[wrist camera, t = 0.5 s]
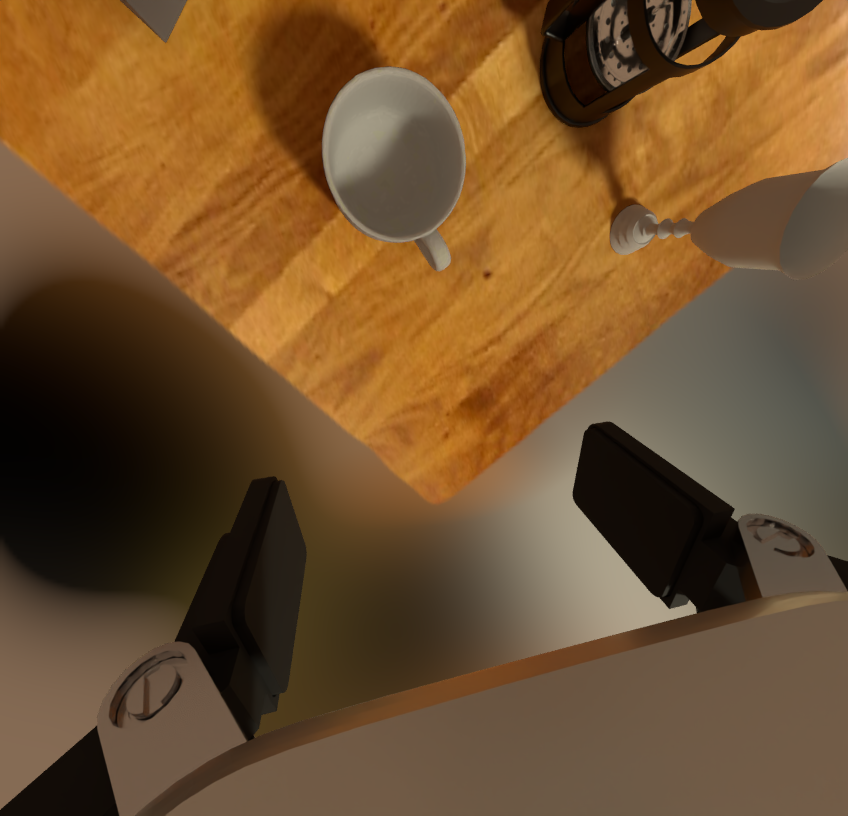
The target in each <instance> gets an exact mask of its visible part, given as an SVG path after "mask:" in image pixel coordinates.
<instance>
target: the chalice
mask: <svg viewBox="0 0 848 816" xmlns="http://www.w3.org/2000/svg"><path fill="white" fill-rule="evenodd" d="M689 233H691V240H692V242H693V243H694V244H695V245H696V246H697V247H699V248H700V249H701V250H702V251H703V252H705V253H706V254H707V255H708V256H710V257H712V258H713V259H715V260H717V261H719V262H721V263H723V264H725V265H727V266H729V267H736V268H752V269H768V270H780V271H781V272H782V273H784V274H786V275H787V276H788V277H790V278H792V279H794V280H797V279H799V280H800V279H808V278H810V277H812V276H815V275H817V274H820V273H821V272H823V271H824V270H825V269H827V268H828V267H829V266H831V265H832V264H834V263H835V262H836V261H837V260H838V259H839V258H840V257H841V256H842V255H843V254H844V253H845V252H846V251H847V250H848V158H846V159H844V160H841V161H839V162H837V163H835V164H833V165H831V166H830V167H828V168H826V169H824V170H819V171H812V172H806V173H799V174H793V175H786V176H780V177H773V178H767V179H764V180H761V181H758V182H756V183H754V184H751V185H749V186H747V187H745V188H743V189H741V190H739V191H737V192H735V193H732V194H730V195H729V196H727V197H726V198H724V199H722V200H721V201H719V202H718V203H716V204H714V205H713V206H711V207H710V208H708V209H706V210H705V211H703V212H702V213H701V214H700V215H699V216H698V217H697V218H696V220H695V222H691V221H688V220H687V219H686V218H683V219H681V220H680V221H678V222H677V223H673V222H672V220H671V219H665V220H664V221H662V222H661V223H660V224H658V222H657V218H656V216H655V214H654V213H653V212H651V211H650V210H648V209H646V208H645V207H643V206H641V205H631V206H628V207H626V208H625V209H624V210H622V211H621V212H620V213H619V215H618V216H617V217H616V219H615V221H614V223H613V225H612V228H611V232H610V242H611V246H612V248H613V249H614V250H615V252H617V253H619V254H622V255H627V254H630V253H633V252H634V251H635V250H638V249H640V248H642V247H644V246H645V245H647V244H648V243H649V242H650V241H651V240H652V239H653V237H654V236H655V234H656V235H658V237H659V238H660V239H664V238H666V237H668V236H669V235H670V234H673V235H675V237H677V238H680V237H682V236H683V235H685V234H689Z"/></svg>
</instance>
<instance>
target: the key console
mask: <svg viewBox="0 0 848 816" xmlns="http://www.w3.org/2000/svg"><path fill="white" fill-rule="evenodd" d="M120 1H121V2H122V3H123V4H125V5H126V6H127V7H128V8H129V9H130V10H131V11H132V12H133V13H134V14H135V15H136V16H137V17H138V18H140V19H141V20H142V21H143V22H144V23H145V24H146V25H147V26H148V27H149V28H150V29H151V30H152V31H153V32H154V33H156V34H157V35H158V36H159V37H160V38H161V39H162V40H163V41H164V42H165V43H166V42H167V40H168V38H169V36H170V34H171V32H172V30H173V28H174V26H175V24H176V22H177V20H178V18H179V16H180V14H181V12H182V10H183V7H184V5H185V3H186V1H187V0H120Z"/></svg>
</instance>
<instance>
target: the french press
mask: <svg viewBox="0 0 848 816" xmlns="http://www.w3.org/2000/svg"><path fill="white" fill-rule="evenodd" d="M691 1H692V0H549V2H548V4H547V7H546V11H545V15H544V20H543V24H542V29H541V34H542V35H543V36H545V40H544V43H543V47H542V53H541V59H540V79H541V87H542V91H543V95H544V98H545V101H546V103H547V105H548V107H549V109H550V110H551V112H552V113H553V114H554V116H555V117H556V118H557V119H559V120H560V121H561V122H562V123H564V124H566V125H568V126H572V127H578V128H580V127H588V126H590V125H593V124H596V123H598V122H599V121H601V120H602V119H604V118H605V117H607V116H608V115H609V114H610V113H612V112H614V111H616V110H618V109H620V108H621V107H623V106H624V105H626V104H627V103H628V102H629V101H630V100H631V99H633V98H634V97H635V96H636V95H638V94H641V93H643V92H645V91H647V90H649V89H650V88H652V87H653V86H655V85H657V84H659V83H661V82H663V81H664V80H666V79H668V78H672V77H681V76H684V75H687V74H689V73H692V72H694V71H696V70H698V69H700V68H702V67H704V66H706V65H708V64H710V63H712V62H713V61H715V60H716V59H718V58H719V57H721V56H722V55H724V54H725V53H726V52H727V51H728V50H729V49H730V48H731V47H732V46H733V45H734V44H735V43H736V42H737V40H738V39H739V38H740V37H741V36H744V35H747V34H750V33H752V32H755V31H757V30H773V29H777V28H780V27H783V26H785V25H788V24H790V23H792V22H794V21H796V20H798V19H799V18H801V17H803V16H804V15H806V14H807V13H809V12H810V11H812V10H813V9H814V8H815V7H816V6H817V5H818V4H819V3H820V2H822V1H823V0H695V1H696V4H697V7H698V9H699V11H700V13H701V16H702V19H700V20H699V21H697V22H696V23H694V24H692V25H691V26H689V27H688V25H689V19H690V14H691ZM586 20H587V25H586V46H587V54H588V59H589V64H590V67H591V69H592V72H593V74H594V76H595V78H596V80H597V81H598V83H599V84H600V85H601V87H602V88H603V89H604V90H605V91H607V93H605V94H604V95H602V96H600V97H599V98H597V99H595V100H593V101H592V102H590V103H588V104H587V105H584V104H583V103H582V102H581V101H579V100H578V98H577V97H576V95H575V94H574V93H573V91H572V89H571V86H570V84H569V82H568V78H567V74H566V70H565V61H564V46H565V40H566V39H567V38H568V37H569V36H570V35H571V34H572V33H573V32H574V31H575V30H576V29H577V28H579V27H580V26H581V25H582V24H583V23H584V22H585V21H586ZM720 34H721V35H725V36H726V37H725V39H724V40H723V42H722V43H721V44H720V45H719V47H718V48H717V49H716V50H715V52H714V53H712V54H711V55H710V56H709V57H708V58H707V59H706V60H705V61H704V62H703V63H701V64H698V65H683V64H679V63H676V62H674V61H675V60H676V59H678V58H679V57H681V56H683V55H685V54H686V53H688V52H690V51H692V50H693V49H695V48H697V47H699V46H701V45H702V44H704V43H706V42H708V41H709V40H711V39H713V38H715V37H717V36H718V35H720Z"/></svg>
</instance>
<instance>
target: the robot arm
mask: <svg viewBox="0 0 848 816" xmlns="http://www.w3.org/2000/svg"><path fill="white" fill-rule="evenodd" d="M573 499H574V501H575V503H576V505H577V506H578V507H579V508H580V510H581V511H582V512H583V513H584V514H585V515H586V517H587V518H588V519H589V520H590V521H591V523H592V524H593V525H594V526H595V527H596V528H597V530H598V531H599V532H600V533H601V534H602V536H603V537H604V538H605V539H606V540H607V541H608V543H609V544H610V545H611V546H612V547H613V549H614V550H615V551H616V552H617V553H618V554H619V556H620V557H621V558H622V559H623V560H624V562H625V563H626V564H627V565H628V566H629V567H630V569H631V570H632V571H633V572H634V573H635V575H636V576H637V577H638V578H639V579H640V580H641V582H642V583H643V584H644V585H645V586H646V587H647V589H648V590H649V591H650V592H651V593H652V594H653V595H654V596H656V597H660V599H661V600H662V601H663V602H664V603H665V604H666V606H667V607H668V608H669V609H671V608H674V607H679V606H682V605H686V604H687V603H688V601H689V600H690V601H691V602H692V603H693V604H694V605H695V606H696V611H697V614H693V615H689V616H685V617H681V618H677V619H674V620H670V621H666V622H662V623H658V624H655V625H650V626H647V627H643V628H639V629H635V630H631V631H627V632H623V633H620V634H616V635H612V636H608V637H605V638H601V639H597V640H593V641H589V642H585V643H582V644H578V645H574V646H570V647H566V648H563V649H559V650H555V651H552V652H548V653H544V654H540V655H536V656H533V657H529V658H525V659H521V660H518V661H514V662H510V663H506V664H503V665H499V666H495V667H492V668H488V669H484V670H480V671H477V672H473V673H469V674H466V675H462V676H458V677H455V678H451V679H447V680H444V681H440V682H436V683H432V684H429V685H425V686H422V687H418V688H414V689H411V690H407V691H403V692H400V693H396V694H392V695H388V696H385V697H381V698H378V699H375V700H371V701H367V702H364V703H361V704H357V705H354V706H350V707H347V708H343V709H341V710H337V711H333V712H330V713H326V714H323V715H320V716H316V717H313V718H309V719H306V720H303V721H300V722H297V723H294V724H291V725H289V726H286V727H283V728H280V729H277V730H274V731H271V732H269V733H266V734H263V735H261V736H258V737H256V738H255V737H254V734H255V732H256V731H257V730H258V729H259V725H260V720H261V715H263V714H267V713H271V712H275V711H277V705H278V700H279V694H280V693H284V692H285V691H286V690H287V687H288V682H289V675H290V668H291V661H292V654H293V647H294V640H295V633H296V626H297V619H298V612H299V606H300V599H301V592H302V585H303V578H304V570H305V563H306V546H305V542H304V539H303V537H302V533H301V530H300V527H299V524H298V521H297V519H296V515H295V512H294V509H293V506H292V503H291V500H290V497H289V494H288V491H287V488H286V485H285V482H284V481H282V480H280V481H278V480H277V478H276V477H274V476H273V477H267V478H261V479H254V480H252V482H251V484H250V486H249V489H248V491H247V494H246V496H245V498H244V501H243V503H242V506H241V508H240V510H239V513H238V515H237V517H236V520H235V522H234V525H233V527H232V529H231V532H230V533H226V534H224V535H223V536H222V537H221V539H220V540H219V542H218V544H217V546H216V549H215V551H214V553H213V556H212V558H211V560H210V562H209V565H208V567H207V569H206V571H205V574H204V576H203V578H202V580H201V583H200V585H199V587H198V590H197V592H196V594H195V596H194V599H193V601H192V603H191V605H190V608H189V610H188V612H187V614H186V617H185V619H184V621H183V624H182V626H181V628H180V630H179V633H178V635H177V637H176V639H175V642H172V643H166V644H164V645H162V646H159V647H157V648H154V649H152V650H151V651H149V652H148V653H146V654H144V655H143V656H141V657H140V658H138V659H137V660H136V661H135V662H134V663H132V664H131V665H130V666H129V667H128V668H127V669H126V670H125V671H124V672H123V673H122V674H121V675H120V676H119V678H118V679H117V680H116V681H115V682H114V684H113V685H112V686H111V688H110V689H109V691H108V693H107V694H106V696H105V698H104V699H103V701H102V704H101V707H100V710H99V713H98V716H97V726H96V727H95V728H94V729H93V730H91V731H90V732H89V733H88V734H87V735H86V736H84V737H83V739H81V740H80V741H79V742H78V743H76V744H75V745H74V746H73V747H72V748H71V749H70V750H68V751H67V752H66V753H65V754H64V755H63V756H61V757H60V758H59V759H58V760H57V761H56V762H55V763H53V764H52V765H51V766H50V767H49V768H48V769H47V770H45V771H44V772H43V773H42V774H41V775H40V776H39V777H37V778H36V779H35V780H34V781H33V782H32V783H31V784H29V785H28V786H27V787H26V788H25V789H24V790H22V791H21V792H20V793H19V794H18V795H17V796H16V797H15V798H13V799H12V800H11V801H10V802H9V803H8V804H6V805H5V806H4V807H3V808H2V809H1V810H0V816H848V561H844V560H841V559H838V558H835V557H831V556H828V555H827V554H826V552H825V551H824V549H823V547H822V546H821V545H820V544H819V543H818V541H817V540H816V539H814V538H813V537H812V536H811V535H810V534H808V533H807V532H805V531H804V530H802V529H800V528H799V527H797V526H795V525H793V524H791V523H789V522H786V521H784V520H782V519H779V518H775V517H772V516H769V515H763V514H747V515H744V516H741V518H740V519H739V520H738V522H737V521H735V520H734V519H732V518H731V516H732V514H733V512H734V508H733V507H732V506H730V505H729V504H727V503H726V502H724V501H723V500H721V499H720V498H719V497H717V496H716V495H714V494H713V493H712V492H710V491H709V490H707V489H706V488H704V487H703V486H702V485H700V484H699V483H697V482H696V481H694V480H693V479H692V478H690V477H689V476H687V475H686V474H685V473H683V472H682V471H680V470H679V469H677V468H676V467H675V466H673V465H672V464H670V463H669V462H668V461H666V460H665V459H663V458H662V457H660V456H659V455H658V454H656V453H655V452H653V451H652V450H651V449H649V448H648V447H646V446H645V445H643V444H642V443H641V442H639V441H638V440H636V439H635V438H633V437H632V436H630V435H629V434H628V433H626V432H625V431H624V430H622V429H621V428H619V427H618V426H616V425H615V424H614V423H612V422H603V423H596V424H592V425H590V426H589V427H588V429H587V430H586V431H585V432H584V436H583V441H582V447H581V452H580V457H579V462H578V467H577V473H576V478H575V483H574V488H573Z"/></svg>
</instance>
